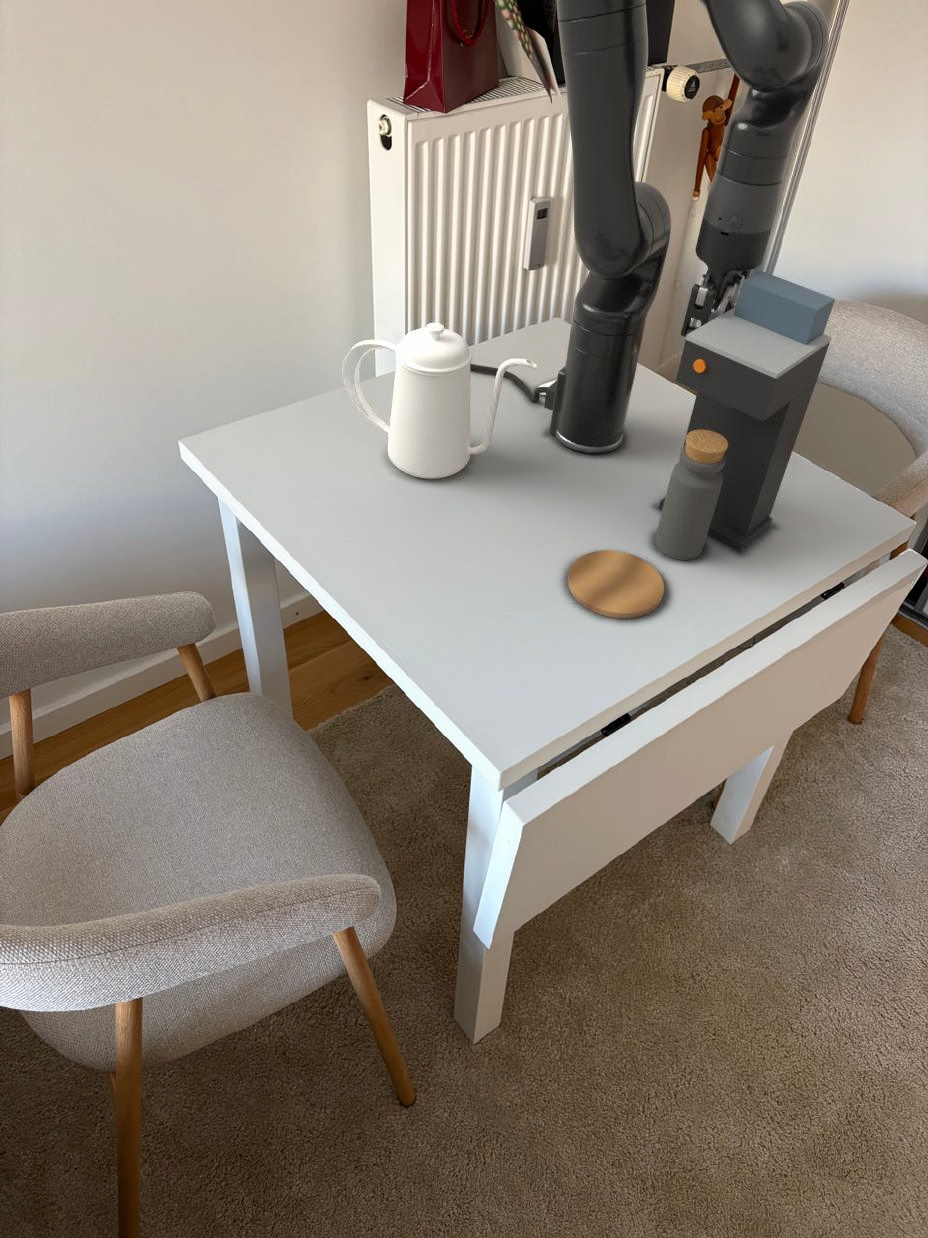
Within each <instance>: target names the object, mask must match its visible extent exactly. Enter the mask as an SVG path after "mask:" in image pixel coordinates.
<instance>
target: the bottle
mask: <svg viewBox="0 0 928 1238" xmlns="http://www.w3.org/2000/svg"><path fill="white" fill-rule="evenodd" d="M686 434H687V433H686ZM685 438H686V445H685V446H684V445H683V446H682V447H681V448H680V453H679V461H680V462H679V461H678V462H677V463H675V465H674V466H673V468H672V471H671V474H670V478H669V482H668V485H667V489H666V494H665V496H664V498H665V501H664V505H663V509H662V510H661V513H660V518H659V521H658V525H657V528H656V529H657V530H656V534H655V537H654V538H655V539H654V543H655V547H656V548H657V549H658V551H660V553H662V554H663V555H664V556H667V557H669V558H671V559H675V560H680V561H689V560H693V559H697V557H699V556H700V555H701V554H702V552H703V549H704V547H705V543H706V540H707V538H708V530H709V527H710V524H711V521H712V517H713V514H714V511H715V507H716V504H717V500H718V497H719V493H720V490H721V487H722V483H723V474H722V472H721V471H720V470H722V469H723V467H724V465H725V461H726V456H725V454H724V453H725V452H726V450H727V448H728V441H727V440H726V438H725V437H724V436H722V435H721V434H719V433H717V432H714V431H710V430H703V429H700V430H694V431H691V432H689V433H688V434H687V436H686V435H685Z"/></svg>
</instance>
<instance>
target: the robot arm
mask: <svg viewBox="0 0 928 1238" xmlns="http://www.w3.org/2000/svg"><path fill="white" fill-rule="evenodd" d="M555 1H556V14H557V25H558V35H559V45H560V53H561V60H562V66H563V67H562V68H563V73H564V80H565V90H566V103H567V113H568V124H569V133H570V140H571V150H572V173H573V175H572V177H573V178H572V179H573V185H572V187H573V188H572V189H573V233H574V234H573V235H574V241H575V246H576V250H577V253H578V256H579V258H580V261H581V262H582V264H583V265H584V267H585V268H586V269H587V270H588V274H587V276H586V278H585V280H584V281H583V283H582V284H581V286H580V287H579V289H578V291H577V293H576V295H575V298H574V303H573V310H572V318H571V325H570V331H569V337H568V346H567V351H566V358H565V363H564V364H565V366H563V367H562V368H560V370H559V371H558V373H557V377H556V378H557V379H555V380H556V381H555V380H554V381H555V382H554V383H553V384H552V385H551V386H549V387H538V386H537V387H536V388H535V389H534V390H533V393H532V392H531V391H530V390H529V388H528V386H527V385H526V384H525V383H524V382H523V381H522V380H521V378H519V377H518V376H517V375H515V374H514V373H512V372H510V371H508V370H506V371H505V373H504V376H503V377H505V378H507V379H508V378H509V379H510V380H511V381H512V382H514V383H515V384H516V385H517V386H518V387H519V389H520V390H521V392H523V393H524V394H525V395H526V397H527V398H528V399H529V401H532V402H535V403H536V402H539V400H540V396H541V394H540V393H546V395H545V396H544V397H545V398H544V405H543V406H544V407H543V408H544V409H547V410H549V411H552V413H551V418H550V419H551V420H550V427H549V435H550V434H551V435H553V436H555V437H556V439H557V441H558V442H560V443H561V444H562V445H563V446H565V447H566V448H569V449H571V450H574V451H576V452H581V453H585V454H605V453H609V452H611V451H613V450H616V449H617V448H618V447H620V446H621V444H622V443H623V438H624V431H625V425H626V419H627V416H628V410H629V406H630V401H631V396H632V390H633V388H634V387H633V385H634V381H635V378H636V377H635V376H636V372H637V367H638V361H639V357H640V352H641V347H642V341H643V337H644V332H645V328H646V322H647V318H648V314H649V312H650V309H651V308H652V306H653V304H654V302H655V299H656V297H657V294H658V291H659V287H660V282H661V278H662V275H663V272H664V266H665V262H666V258H667V254H668V251H669V246H670V241H671V233H672V213H671V210H670V207H669V206H670V205H669V203H668V202H667V199H666V198H665V196H664V195H663V194H662V192H661V191H660V190H659V189H658V188H656V187H655V186H654V185H652V184H650V183H648V182H644V181H637V180H636V175H635V162H634V147H635V144H634V143H635V136H636V134H635V133H636V128H637V123H638V117H639V112H640V108H641V104H642V103H641V102H642V98H643V93H644V88H645V82H646V77H647V70H648V63H649V61H648V60H649V35H648V34H649V33H648V32H649V31H648V19H647V17H648V16H647V5H646V2H647V1H646V0H555ZM698 2H699V3H700V4H701V5H702V7H703V8H704V10H705V11H706V15H707V17H708V19H709V23H710V25H711V26H710V27H711V28H712V30H713V33H714V35H715V38H716V39H717V42H718V45H719V46H720V50H721V51H722V53H723V55H724V58H725V60H726V62H727V63H728V65H729V67H730V68H731V70H732V71H733V73H734V74H735V75H736V77H738V78H739V80H740V81H741V82H742V83H743V84H745V86H747V87H748V88H747V91H746V95H745V97H744V100H743V101H742V103H741V105H740V106H739V108H737V110H736V111H735V112H734V113H733V114H732V115H731V117H730V119H729V120H728V123H727V126H726V127H725V131H724V134H723V139H722V143H721V147H720V151H719V155H718V160H717V165H716V169H715V171H714V175H713V178H712V181H711V183H710V186H709V189H708V193H707V197H706V202H705V206H704V209H703V214H702V219H701V223H700V227H699V232H698V236H697V240H696V245H695V254H696V256H697V258H698V260H700V261H701V262H703V263H704V264H705V265H706V267H707V270H706V272H705V273H703V274H702V276H700V277H701V278H700V280H699V283H694V284H693V286H692V287H691V290H690V291H691V292H690V296H689V300H688V304H687V308H686V312H685V316H684V320H683V324H682V328H681V330H680V336H681V337H684V338H686V336H687V334H689V333H691V332H692V331H694V330H696V329H697V328H699V327H701V326H703V325H704V324H706V323H708V322H710V321H711V320H713V319H715V318H717V317H718V316H720V315H722V314H724V313H725V312H727V311H729V310H731V309H732V308H734V307H736V305H737V301H738V297H739V294H740V290H741V286H742V283H743V280H745V279H747V278H749V277H750V275H751V271H752V270H754V269H756V268H758V267H759V266H760V265H761V264H762V263H763V261H764V258H765V255H766V250H767V246H768V244H769V239H770V237H771V236H770V235H771V232H772V229H773V225H774V221H775V218H776V214H777V211H778V207H779V203H780V199H781V191H782V185H783V180H784V176H785V173H786V169H787V165H788V162H789V158H790V154H791V153H792V148H793V142H794V137H795V135H796V131H797V130H798V127H799V125H800V123H801V121H802V119H803V116H804V114H805V112H806V111H807V108H808V105H809V103H810V101H811V98H812V96H813V94H814V91H815V90H816V87H817V84H818V83H819V79H820V77H821V74H822V72H823V69H824V66H825V62H826V58H827V55H828V50H829V43H830V29H829V24H828V21H827V18H826V16H825V14H824V13H823V11H822V10H821V9H820V8H819V6H817V5H815V3H812V2H810V1H805V0H793V1H792V0H791V1H788V2H786V3H785V2H784V3H783V2H782V1H781V0H698ZM712 310H713V311H712ZM698 321H699V322H700V326H696V325H697V323H698ZM498 369H499V367H493V366H486V365H479V364H474V363H471V364H470V371H471V370H473V371H476V372H477V371H478V372H484V373H490V374H495V375H497V371H498Z"/></svg>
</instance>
